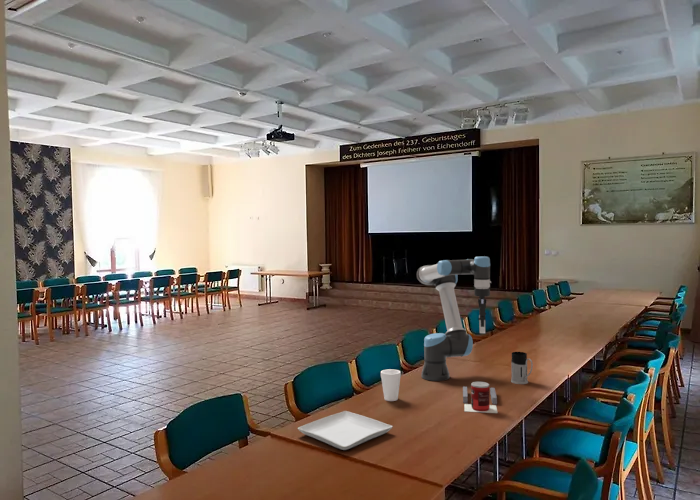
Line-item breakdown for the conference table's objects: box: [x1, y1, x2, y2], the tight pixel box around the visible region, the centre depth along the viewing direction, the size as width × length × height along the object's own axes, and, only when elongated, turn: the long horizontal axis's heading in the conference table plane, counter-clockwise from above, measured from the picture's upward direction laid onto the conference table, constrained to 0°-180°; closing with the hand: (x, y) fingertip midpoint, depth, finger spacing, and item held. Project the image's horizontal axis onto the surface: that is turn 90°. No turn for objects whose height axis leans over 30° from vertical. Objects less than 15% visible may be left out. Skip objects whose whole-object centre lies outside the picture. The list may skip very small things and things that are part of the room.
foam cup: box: [380, 368, 402, 402], centre depth 249 cm, size 10×9×13 cm
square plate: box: [297, 410, 394, 451], centre depth 205 cm, size 27×27×4 cm
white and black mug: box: [510, 351, 534, 385], centre depth 271 cm, size 9×14×15 cm, turn 21°
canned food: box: [470, 381, 491, 411], centre depth 232 cm, size 8×8×11 cm
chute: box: [462, 386, 499, 414], centre depth 241 cm, size 15×28×3 cm, turn 168°
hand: (482, 330), depth 260 cm, fingers open, 13 cm apart
